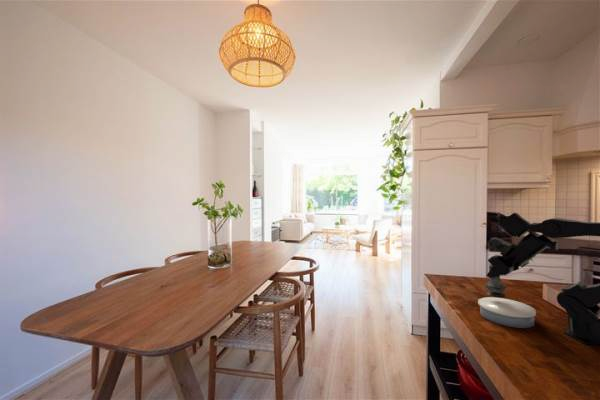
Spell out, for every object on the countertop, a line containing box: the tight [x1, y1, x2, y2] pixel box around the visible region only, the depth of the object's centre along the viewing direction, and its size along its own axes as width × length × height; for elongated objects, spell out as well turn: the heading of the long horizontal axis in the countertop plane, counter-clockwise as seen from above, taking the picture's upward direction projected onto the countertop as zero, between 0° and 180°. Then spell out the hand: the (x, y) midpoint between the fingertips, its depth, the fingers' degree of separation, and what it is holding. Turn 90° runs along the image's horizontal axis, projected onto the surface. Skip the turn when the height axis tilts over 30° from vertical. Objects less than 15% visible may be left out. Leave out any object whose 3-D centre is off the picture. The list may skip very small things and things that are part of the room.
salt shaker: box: [484, 263, 507, 299], centre depth 86 cm, size 6×6×12 cm
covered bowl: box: [477, 296, 537, 329], centre depth 82 cm, size 15×15×4 cm
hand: (490, 275), depth 87 cm, fingers closed on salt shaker, 4 cm apart
